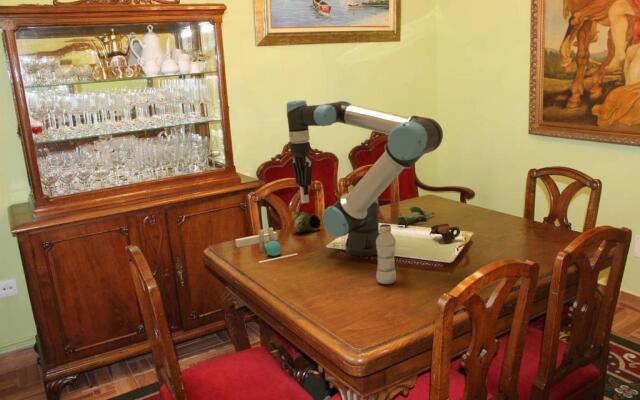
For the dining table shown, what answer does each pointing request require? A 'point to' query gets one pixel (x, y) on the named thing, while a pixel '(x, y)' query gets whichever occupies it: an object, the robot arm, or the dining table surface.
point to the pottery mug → (445, 232)
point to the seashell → (305, 222)
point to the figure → (413, 216)
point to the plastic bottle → (385, 255)
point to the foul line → (277, 258)
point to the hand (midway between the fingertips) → (305, 202)
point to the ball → (273, 248)
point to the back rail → (252, 240)
